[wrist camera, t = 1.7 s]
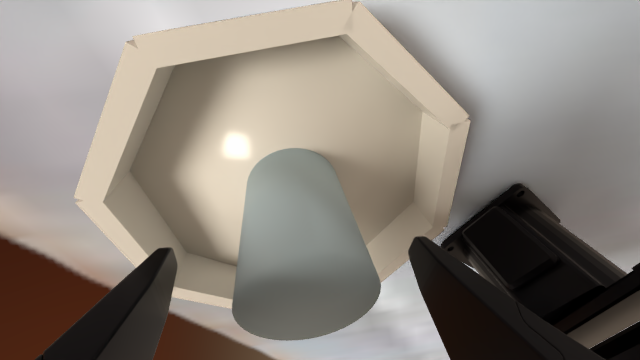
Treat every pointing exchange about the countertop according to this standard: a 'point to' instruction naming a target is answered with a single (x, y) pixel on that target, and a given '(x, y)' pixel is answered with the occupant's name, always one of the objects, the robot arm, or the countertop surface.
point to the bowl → (268, 136)
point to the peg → (300, 252)
